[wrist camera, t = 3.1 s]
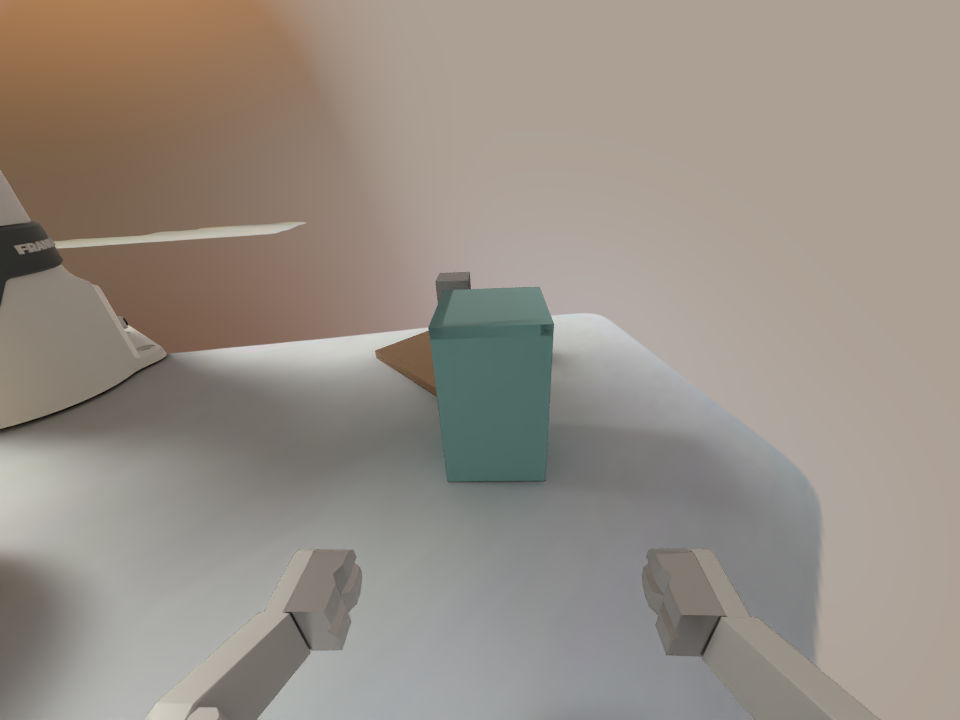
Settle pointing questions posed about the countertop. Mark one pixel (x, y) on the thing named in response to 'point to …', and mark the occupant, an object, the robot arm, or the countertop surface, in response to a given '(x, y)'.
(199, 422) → the countertop surface
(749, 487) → the countertop surface
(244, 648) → the robot arm
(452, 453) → the teal tall prism
